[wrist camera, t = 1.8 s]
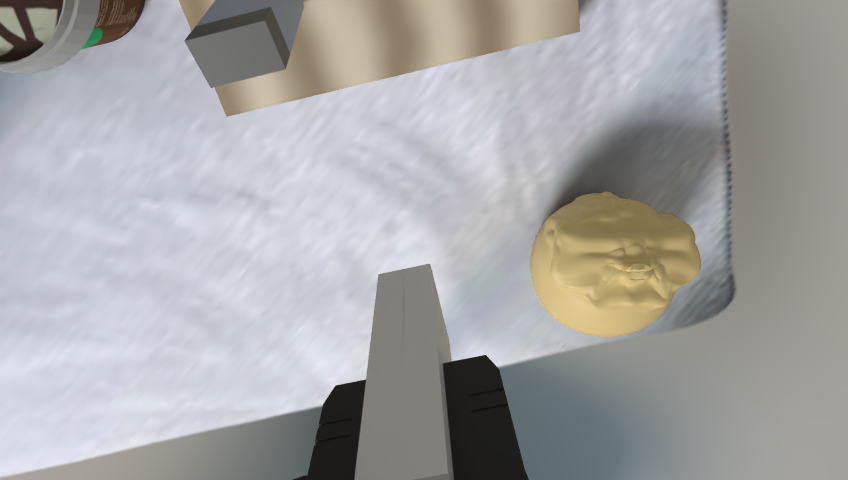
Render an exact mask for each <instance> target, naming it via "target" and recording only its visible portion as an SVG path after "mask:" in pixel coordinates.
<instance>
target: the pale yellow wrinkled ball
mask: <svg viewBox="0 0 848 480" xmlns="http://www.w3.org/2000/svg"><path fill="white" fill-rule="evenodd" d="M530 268H531V277H532V282H533V286H534V289H535V292H536V294H537V296H538V298H539V300H540V302H541V304H542V305H543V307H544V308H545V309H546V310H547V312H548V313H549V314H550V315H551V316H552V317H553V318H555V319H556V320H557V321H558V322H560V323H561V324H563V325H565V326H566V327H568V328H570V329H572V330H575V331H577V332H580V333H583V334H587V335H592V336H598V337H615V336H622V335H626V334H630V333H633V332H636V331H638V330H640V329H642V328H644V327H646V326H648V325H649V324H651V323H652V322H654V321H655V320H656V319H657V318H658V317H659V316H660V315H661V314H662V313H663V312H664V311H665V310H666V308H667V307H668V306H669V304H670V302H671V301H672V299H673V297H674V294H675V292H676V290H677V289H679V288H680V287H682V286H683V285H685V284H689V283H690V282H691V281H692V280H693V279H694V278H695V277H696V276H697V275H698V274H699V272H700V268H701V260H700V254H699V251H698V248H697V245H696V244H695V234H694V231H693V229H692V228H691V227H690V226H689V225H688V224H687V223H686V222H684V221H682V220H680V219H678V218H677V217H676V216H674V215H673V214H667V213H663V214H659V213H657V212H656V211H655V209H654V208H653V207H651V206H649V205H647V204H645V203H643V202H640V201H636V200H632V199H624V198H620V197H618V196H617V195H614V194H612V193H611V192H603V193H590V194H586V195H582V196H579V197H577V198H576V199H575V200H574V201H573V202H572V203H570V204H568V205H565V206H564V207H562V208H560V209H559V210H557V211H556V212H554V213H553V214H552V215H551V216H550V217H548V219H547V220H546V221H545V223H544V224H543V225H542V227H541V228H540V230H539V232H538V234H537V236H536V238H535V241H534V244H533V247H532V252H531V261H530Z"/></svg>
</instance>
